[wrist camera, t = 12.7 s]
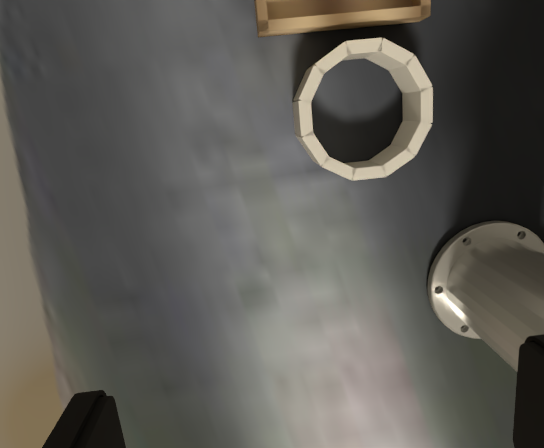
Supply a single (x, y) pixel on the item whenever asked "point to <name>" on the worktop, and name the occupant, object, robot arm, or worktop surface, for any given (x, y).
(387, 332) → the worktop surface
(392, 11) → the tray
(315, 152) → the holder
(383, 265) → the worktop surface
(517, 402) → the robot arm
